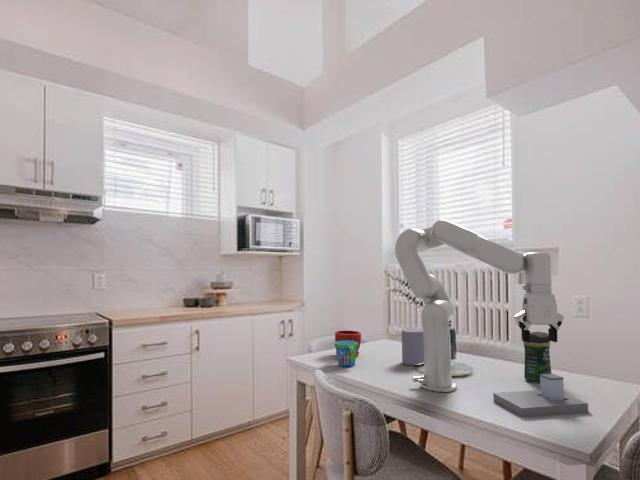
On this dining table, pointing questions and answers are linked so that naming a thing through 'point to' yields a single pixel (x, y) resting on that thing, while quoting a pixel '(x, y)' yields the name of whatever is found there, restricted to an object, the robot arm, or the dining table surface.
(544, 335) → the coffee jar
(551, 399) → the block
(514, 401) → the grey board with hole
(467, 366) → the dining table surface
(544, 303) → the robot arm
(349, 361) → the snack cup
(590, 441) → the dining table surface
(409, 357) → the container
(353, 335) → the plant pot
